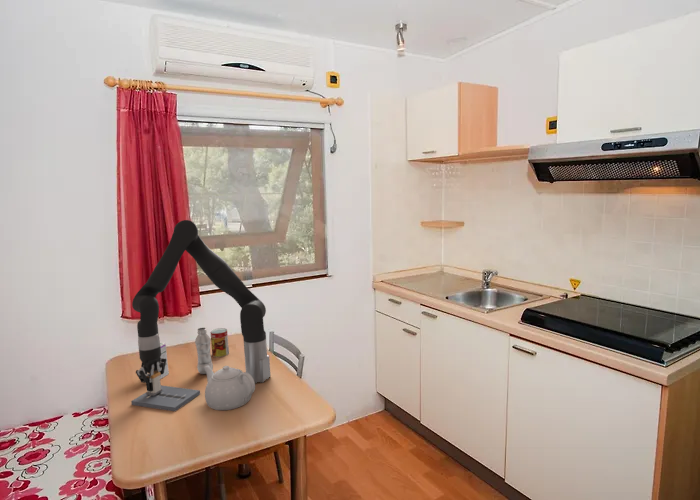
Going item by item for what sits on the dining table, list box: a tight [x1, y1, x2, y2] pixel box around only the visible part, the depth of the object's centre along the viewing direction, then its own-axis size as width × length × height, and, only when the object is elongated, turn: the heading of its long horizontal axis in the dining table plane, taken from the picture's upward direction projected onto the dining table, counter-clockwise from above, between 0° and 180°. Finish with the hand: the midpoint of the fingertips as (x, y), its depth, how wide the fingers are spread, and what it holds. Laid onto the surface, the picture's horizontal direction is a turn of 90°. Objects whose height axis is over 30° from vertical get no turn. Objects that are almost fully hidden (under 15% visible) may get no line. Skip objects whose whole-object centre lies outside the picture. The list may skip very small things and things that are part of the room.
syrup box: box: [160, 342, 170, 380], centre depth 184 cm, size 6×6×14 cm
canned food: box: [209, 327, 230, 358], centre depth 208 cm, size 8×8×12 cm
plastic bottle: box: [194, 327, 214, 375], centre depth 186 cm, size 6×7×20 cm
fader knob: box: [145, 372, 163, 396], centre depth 164 cm, size 4×4×8 cm
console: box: [130, 385, 201, 412], centre depth 163 cm, size 20×14×2 cm
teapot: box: [203, 365, 256, 411], centre depth 159 cm, size 19×18×14 cm
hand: (153, 388), depth 165 cm, fingers closed on fader knob, 3 cm apart
